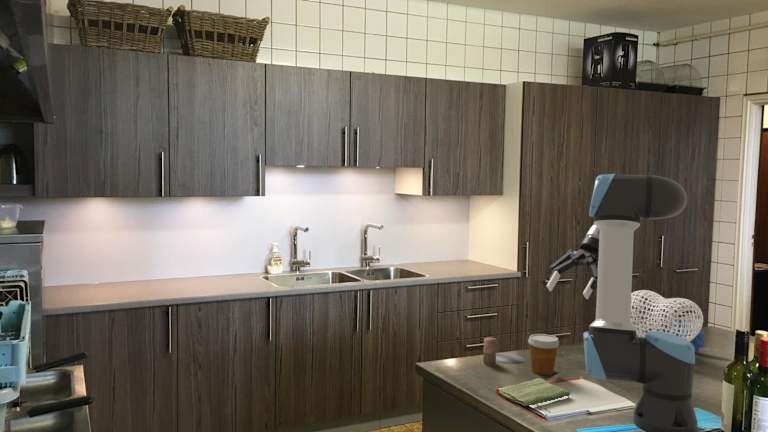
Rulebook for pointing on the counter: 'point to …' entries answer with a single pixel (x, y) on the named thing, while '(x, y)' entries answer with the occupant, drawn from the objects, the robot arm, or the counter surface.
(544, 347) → the disposable coffee cup
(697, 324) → the heart
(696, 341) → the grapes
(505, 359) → the board
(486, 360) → the walnut peg
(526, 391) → the washcloth
